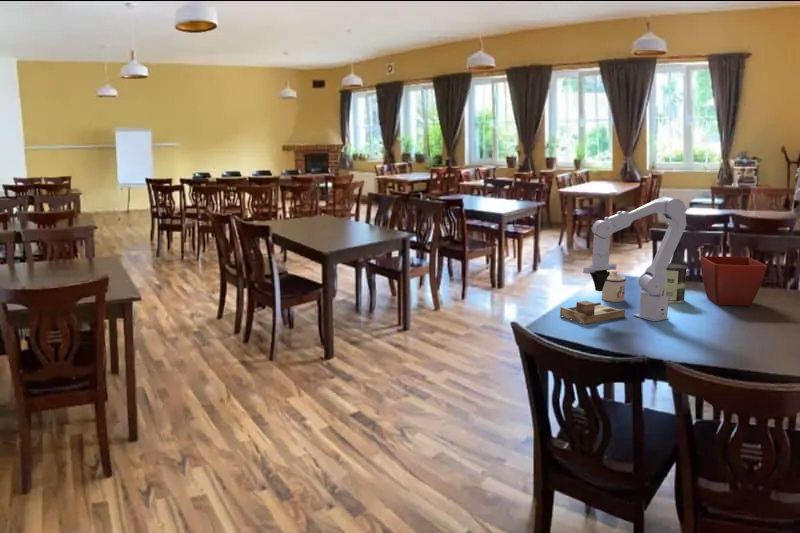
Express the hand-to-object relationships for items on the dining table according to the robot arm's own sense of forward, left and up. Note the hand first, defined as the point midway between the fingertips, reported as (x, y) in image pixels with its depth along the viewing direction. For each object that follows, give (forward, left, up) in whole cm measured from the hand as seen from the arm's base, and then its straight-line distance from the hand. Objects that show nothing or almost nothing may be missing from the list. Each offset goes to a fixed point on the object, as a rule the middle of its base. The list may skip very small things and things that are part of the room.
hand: (598, 290), depth 253 cm
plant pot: (-11, -62, -10) cm, 63 cm away
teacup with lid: (+16, -26, -10) cm, 33 cm away
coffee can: (+3, -44, -10) cm, 46 cm away
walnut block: (-1, +7, -8) cm, 11 cm away
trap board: (+1, +1, -10) cm, 10 cm away
